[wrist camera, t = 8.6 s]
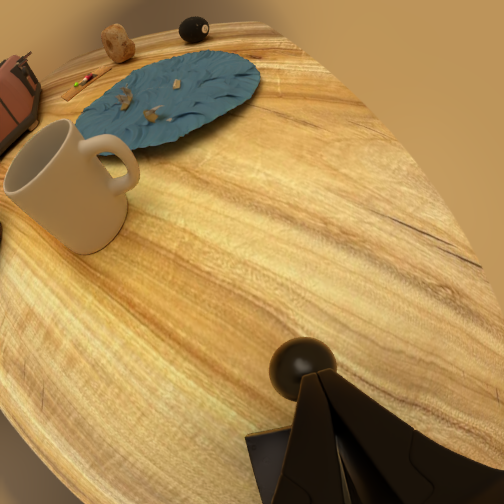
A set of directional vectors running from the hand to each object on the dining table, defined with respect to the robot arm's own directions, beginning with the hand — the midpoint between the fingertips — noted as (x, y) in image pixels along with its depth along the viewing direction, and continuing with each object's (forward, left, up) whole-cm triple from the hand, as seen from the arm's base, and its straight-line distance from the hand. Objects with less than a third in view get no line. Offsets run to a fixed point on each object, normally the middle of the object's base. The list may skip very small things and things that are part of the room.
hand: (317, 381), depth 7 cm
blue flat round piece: (+30, +26, -12) cm, 42 cm away
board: (+42, +53, -12) cm, 69 cm away
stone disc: (+49, +46, -12) cm, 68 cm away
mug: (+10, +22, -12) cm, 27 cm away
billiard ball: (+53, +29, -12) cm, 62 cm away
